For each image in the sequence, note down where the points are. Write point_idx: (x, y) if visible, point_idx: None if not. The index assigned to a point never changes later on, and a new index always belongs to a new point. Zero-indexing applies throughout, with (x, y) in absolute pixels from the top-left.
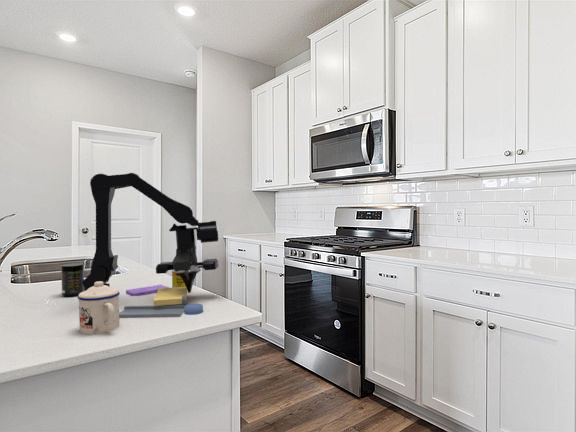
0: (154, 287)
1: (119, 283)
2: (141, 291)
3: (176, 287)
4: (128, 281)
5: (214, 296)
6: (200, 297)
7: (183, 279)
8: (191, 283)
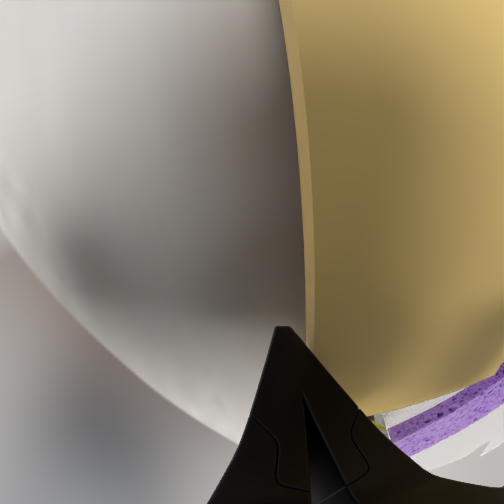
0: (440, 432)
1: (474, 444)
2: (500, 385)
3: (394, 409)
4: (451, 458)
5: (96, 326)
6: (191, 324)
7: (390, 456)
8: (254, 410)
